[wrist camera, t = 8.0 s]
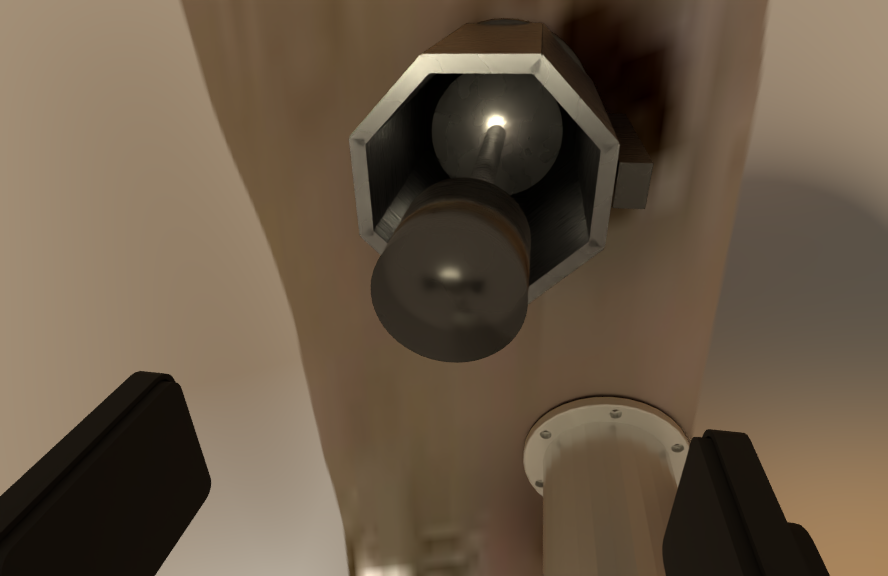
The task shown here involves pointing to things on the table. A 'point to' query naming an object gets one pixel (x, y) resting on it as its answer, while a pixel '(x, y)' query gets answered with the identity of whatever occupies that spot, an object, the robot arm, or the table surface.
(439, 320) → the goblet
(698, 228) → the table surface
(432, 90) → the grey octagonal cup
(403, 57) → the table surface
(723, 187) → the table surface
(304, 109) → the table surface
